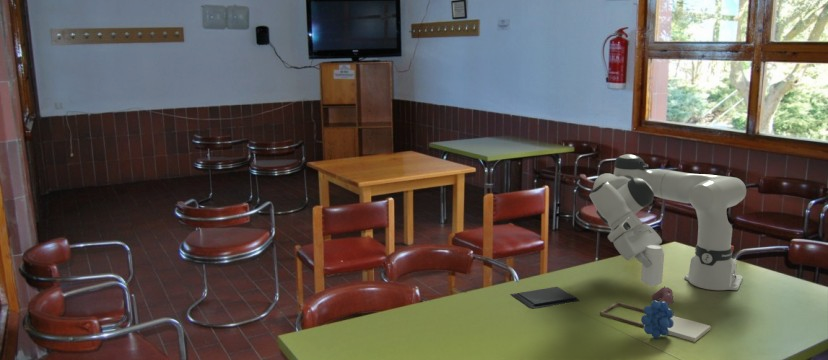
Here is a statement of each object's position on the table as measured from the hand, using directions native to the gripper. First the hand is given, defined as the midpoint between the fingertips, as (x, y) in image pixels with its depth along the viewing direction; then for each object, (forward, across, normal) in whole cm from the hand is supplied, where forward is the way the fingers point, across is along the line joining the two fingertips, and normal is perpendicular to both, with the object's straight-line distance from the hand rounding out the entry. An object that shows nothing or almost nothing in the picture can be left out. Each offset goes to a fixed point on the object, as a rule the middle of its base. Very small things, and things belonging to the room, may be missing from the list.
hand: (654, 263), depth 214 cm
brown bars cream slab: (+14, -1, -13) cm, 19 cm away
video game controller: (+11, -17, -17) cm, 26 cm away
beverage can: (+4, 0, -5) cm, 7 cm away
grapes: (+19, +10, -8) cm, 23 cm away
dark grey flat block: (-11, +5, -40) cm, 42 cm away
